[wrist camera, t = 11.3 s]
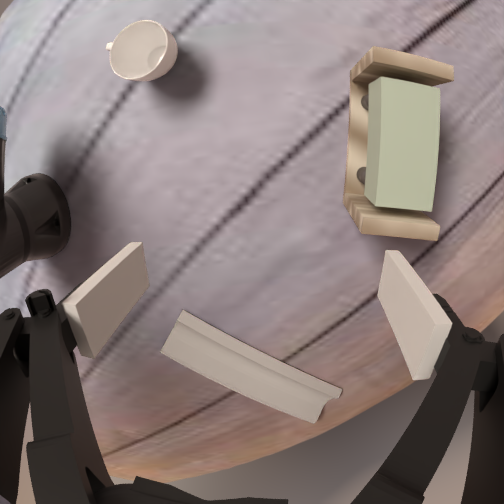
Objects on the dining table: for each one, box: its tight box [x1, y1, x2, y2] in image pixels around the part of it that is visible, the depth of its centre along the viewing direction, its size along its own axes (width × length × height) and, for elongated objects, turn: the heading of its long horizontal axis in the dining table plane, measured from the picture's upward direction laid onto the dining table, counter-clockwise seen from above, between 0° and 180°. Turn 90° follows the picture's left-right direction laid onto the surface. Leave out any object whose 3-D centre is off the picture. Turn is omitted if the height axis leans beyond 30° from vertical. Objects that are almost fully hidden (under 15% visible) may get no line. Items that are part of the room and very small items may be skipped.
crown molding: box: [160, 310, 342, 424], centre depth 49 cm, size 31×12×4 cm, turn 61°
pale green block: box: [364, 77, 440, 212], centre depth 26 cm, size 12×6×5 cm, turn 0°
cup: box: [106, 20, 178, 81], centre depth 30 cm, size 8×10×7 cm
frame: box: [343, 46, 454, 241], centre depth 28 cm, size 17×8×12 cm, turn 179°
